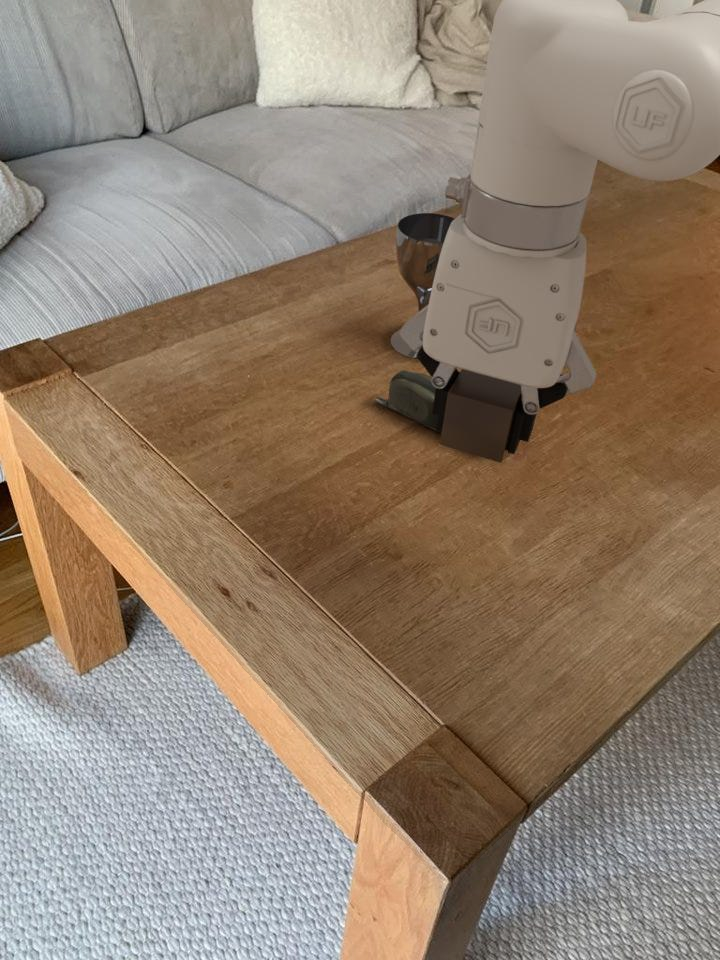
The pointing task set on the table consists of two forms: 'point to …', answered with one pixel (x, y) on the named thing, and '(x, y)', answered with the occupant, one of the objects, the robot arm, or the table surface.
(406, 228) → the wine glass
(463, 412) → the walnut block
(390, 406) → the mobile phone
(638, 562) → the table surface
